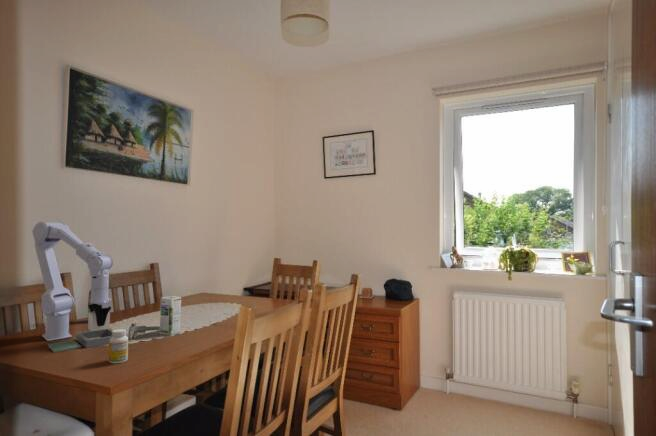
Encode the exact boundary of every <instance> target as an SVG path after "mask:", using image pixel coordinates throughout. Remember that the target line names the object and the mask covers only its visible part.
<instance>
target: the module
mask: <svg viewBox="0 0 656 436" xmlns="http://www.w3.org/2000/svg"><path fill="white" fill-rule="evenodd" d="M110 316H111V312H110V311H109V312H108V315H107V318H106V321H105V325H104V326H97V320H96V314H95V312H94V311H93V312H89V313H88V312H87V330H89V331H97V330H103V329H110V324H111V322H110V321H111V317H110Z"/></svg>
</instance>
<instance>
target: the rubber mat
mask: <svg viewBox="0 0 656 436" xmlns="http://www.w3.org/2000/svg"><path fill="white" fill-rule="evenodd" d="M47 347H48V348H49V350H51V351H52V352H53V353H58V352H63V351H70V350H76V349H81V348H82V345H80V344H79V342H78V341H77V342H76V341H75V340H74V339H70V340H65V341H59V342H54V343H47Z"/></svg>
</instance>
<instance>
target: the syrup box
mask: <svg viewBox="0 0 656 436" xmlns="http://www.w3.org/2000/svg"><path fill="white" fill-rule="evenodd" d="M181 315H182V297H181V296H174V295H173V296H172V295H165V296H162V297H160V315H159V318H160V319H159V326H160V330H159V334H160V335H165V336H173V335H176V334H178V333H180V332H181Z"/></svg>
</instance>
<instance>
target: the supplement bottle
mask: <svg viewBox="0 0 656 436" xmlns="http://www.w3.org/2000/svg"><path fill="white" fill-rule="evenodd" d="M112 330H113V331H112V336H113V337H112V338H110V340H109V344H108V362H109V363H110V364H122V363H126V361H128V358H129V339H128V335H127V329H125V328H118V329H112Z"/></svg>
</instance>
